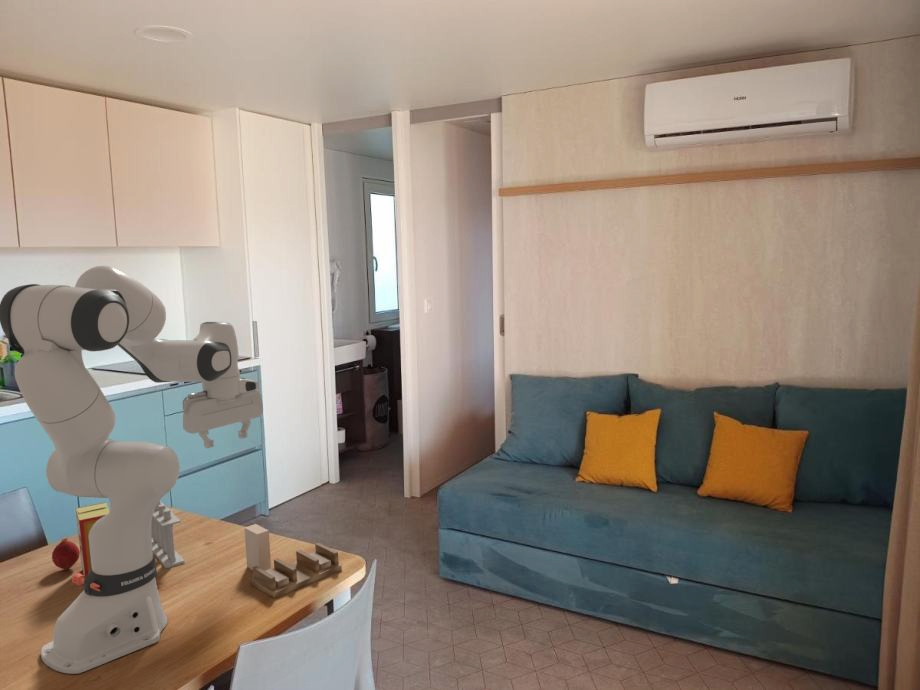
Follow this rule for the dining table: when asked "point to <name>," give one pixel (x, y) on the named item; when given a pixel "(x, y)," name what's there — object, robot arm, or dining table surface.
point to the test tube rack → (164, 536)
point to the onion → (65, 554)
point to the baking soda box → (88, 530)
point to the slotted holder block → (296, 571)
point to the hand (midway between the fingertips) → (226, 442)
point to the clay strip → (257, 547)
